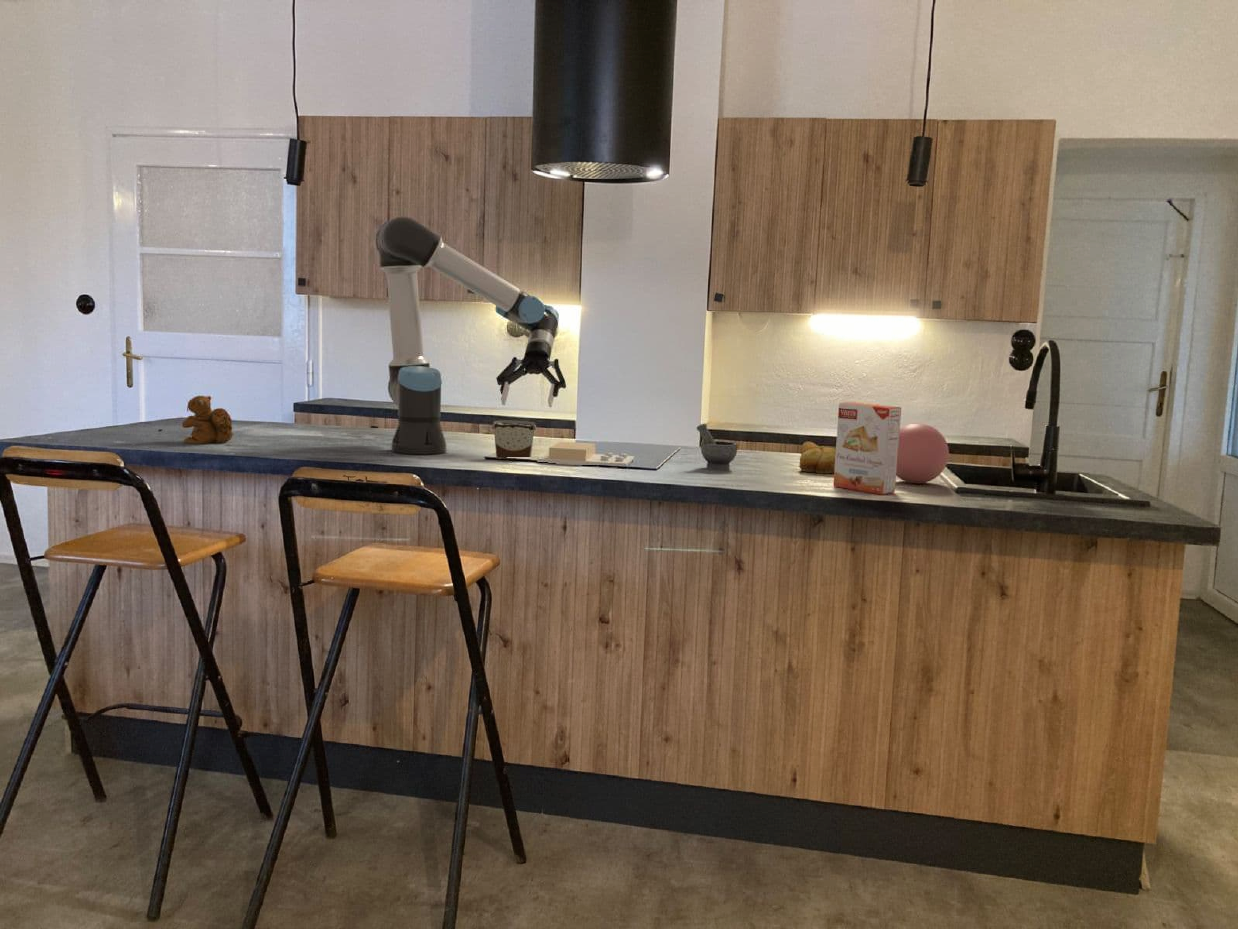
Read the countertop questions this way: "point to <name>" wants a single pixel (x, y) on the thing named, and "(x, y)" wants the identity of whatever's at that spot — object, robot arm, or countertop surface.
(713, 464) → the mortar and pestle
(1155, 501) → the countertop surface
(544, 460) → the build plate
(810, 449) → the bread roll
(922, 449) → the balloon
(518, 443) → the food container
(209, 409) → the stuffed squirrel
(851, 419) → the cracker box
